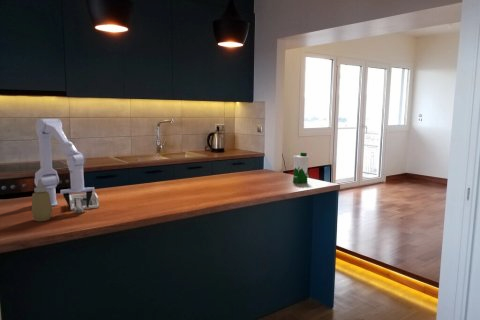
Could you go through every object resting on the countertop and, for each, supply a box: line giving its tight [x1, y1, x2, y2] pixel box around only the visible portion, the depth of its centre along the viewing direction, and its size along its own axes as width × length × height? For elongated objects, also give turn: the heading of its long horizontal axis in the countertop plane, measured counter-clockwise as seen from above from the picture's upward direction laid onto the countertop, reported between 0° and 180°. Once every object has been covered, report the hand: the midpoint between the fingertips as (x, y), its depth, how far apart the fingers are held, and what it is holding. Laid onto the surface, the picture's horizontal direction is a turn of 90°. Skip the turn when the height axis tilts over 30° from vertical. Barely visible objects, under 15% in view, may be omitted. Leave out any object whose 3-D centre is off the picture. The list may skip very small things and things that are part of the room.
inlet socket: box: [82, 198, 92, 206], centre depth 183 cm, size 7×7×2 cm
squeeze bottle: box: [31, 179, 53, 222], centre depth 159 cm, size 8×8×18 cm
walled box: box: [69, 192, 100, 212], centre depth 183 cm, size 13×13×5 cm
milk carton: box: [292, 152, 310, 185], centre depth 245 cm, size 9×9×20 cm
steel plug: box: [74, 197, 84, 214], centre depth 172 cm, size 4×4×7 cm
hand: (78, 208), depth 172 cm, fingers open, 7 cm apart
